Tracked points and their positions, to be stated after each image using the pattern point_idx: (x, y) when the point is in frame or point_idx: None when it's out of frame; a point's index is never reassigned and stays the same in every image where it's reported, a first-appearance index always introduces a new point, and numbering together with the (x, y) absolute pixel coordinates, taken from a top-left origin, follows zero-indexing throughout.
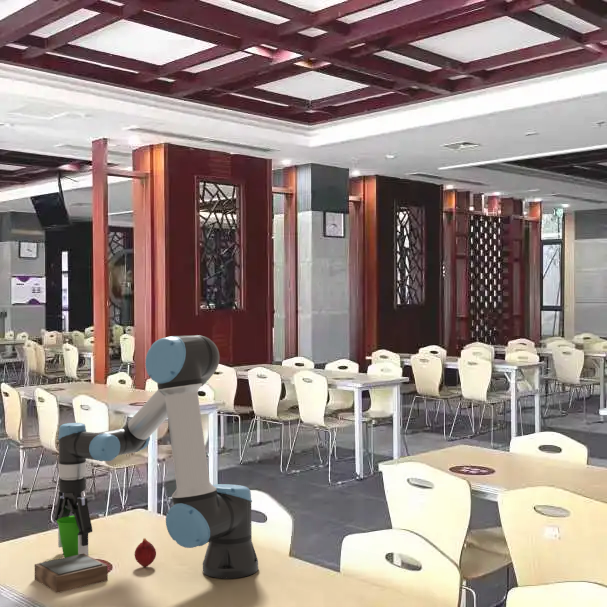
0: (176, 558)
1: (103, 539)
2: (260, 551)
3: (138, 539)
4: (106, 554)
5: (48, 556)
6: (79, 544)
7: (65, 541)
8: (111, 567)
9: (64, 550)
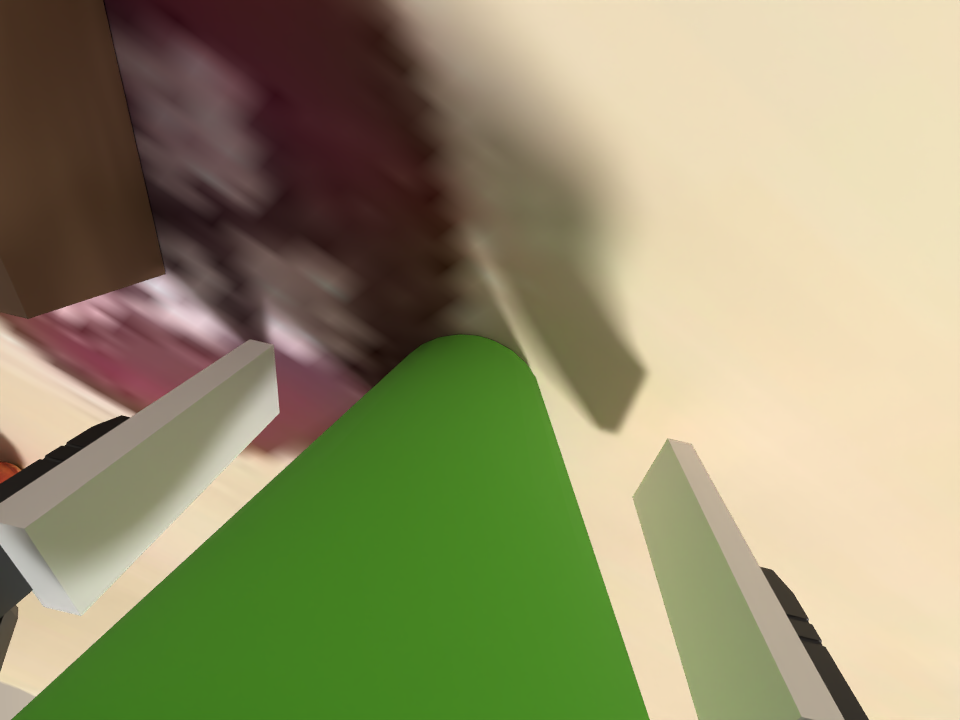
0: None
1: None
2: None
3: None
4: None
5: (688, 308)
6: (137, 413)
7: (378, 410)
8: (89, 383)
9: (451, 358)
